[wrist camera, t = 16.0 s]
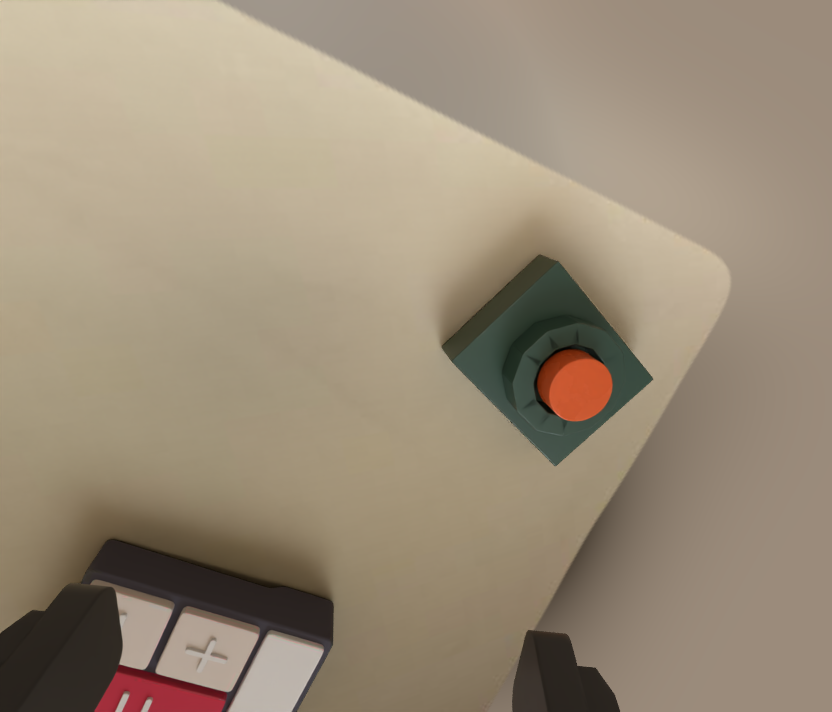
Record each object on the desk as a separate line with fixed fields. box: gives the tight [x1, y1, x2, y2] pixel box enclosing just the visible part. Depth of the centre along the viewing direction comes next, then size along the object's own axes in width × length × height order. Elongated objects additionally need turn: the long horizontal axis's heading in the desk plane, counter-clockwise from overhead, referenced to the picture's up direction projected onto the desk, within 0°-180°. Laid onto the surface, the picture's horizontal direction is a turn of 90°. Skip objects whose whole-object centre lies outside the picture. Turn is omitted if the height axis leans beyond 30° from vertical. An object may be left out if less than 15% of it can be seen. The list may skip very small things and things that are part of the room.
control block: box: [442, 255, 653, 466], centre depth 33 cm, size 8×10×4 cm
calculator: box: [81, 540, 334, 712], centre depth 35 cm, size 11×4×15 cm
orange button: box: [537, 349, 613, 421], centre depth 30 cm, size 4×4×2 cm
